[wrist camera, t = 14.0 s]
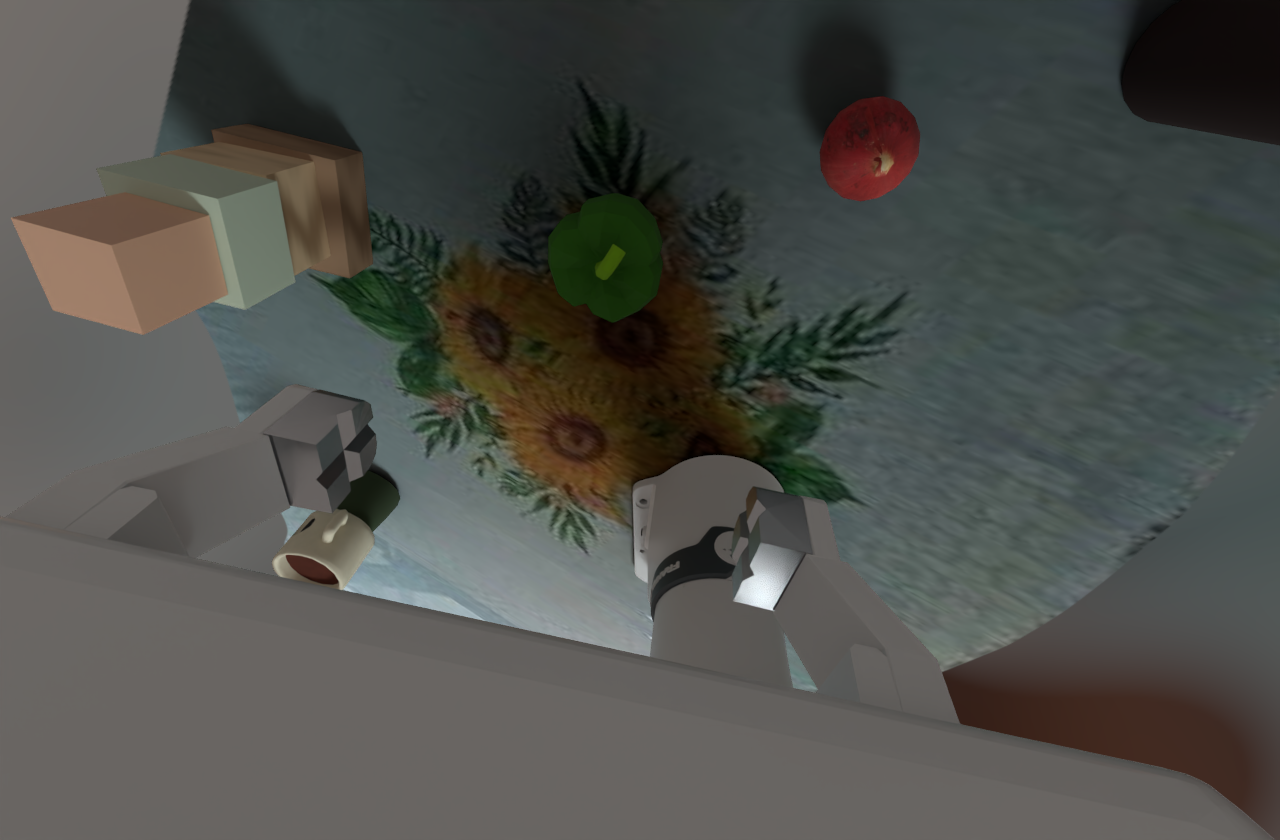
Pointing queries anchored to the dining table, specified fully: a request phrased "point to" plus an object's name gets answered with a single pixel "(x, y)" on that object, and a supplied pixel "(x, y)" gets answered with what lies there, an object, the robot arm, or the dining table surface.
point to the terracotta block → (124, 260)
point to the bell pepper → (607, 256)
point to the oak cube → (294, 193)
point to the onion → (869, 148)
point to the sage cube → (220, 218)
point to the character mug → (338, 535)
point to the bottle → (1210, 69)
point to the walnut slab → (323, 191)
